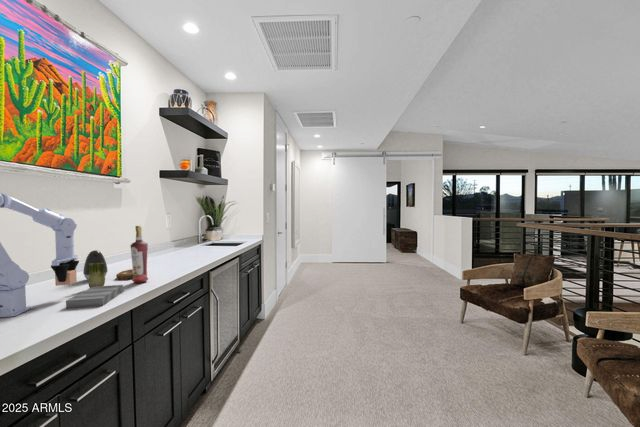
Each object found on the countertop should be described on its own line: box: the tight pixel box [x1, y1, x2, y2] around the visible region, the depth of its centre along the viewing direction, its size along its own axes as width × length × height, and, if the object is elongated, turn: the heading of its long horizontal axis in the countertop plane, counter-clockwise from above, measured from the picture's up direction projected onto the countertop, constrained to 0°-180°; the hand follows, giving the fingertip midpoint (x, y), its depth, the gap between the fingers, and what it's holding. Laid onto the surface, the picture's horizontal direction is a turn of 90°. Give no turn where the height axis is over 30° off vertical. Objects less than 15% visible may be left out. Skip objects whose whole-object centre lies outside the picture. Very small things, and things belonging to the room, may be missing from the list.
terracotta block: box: [54, 269, 77, 287], centre depth 126 cm, size 5×5×5 cm
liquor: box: [130, 225, 149, 284], centre depth 151 cm, size 7×7×28 cm
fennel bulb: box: [87, 263, 106, 288], centre depth 140 cm, size 6×5×12 cm
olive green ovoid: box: [82, 249, 109, 280], centre depth 159 cm, size 10×10×15 cm
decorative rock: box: [115, 268, 133, 281], centre depth 164 cm, size 11×4×15 cm
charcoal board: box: [65, 284, 124, 310], centre depth 124 cm, size 20×12×3 cm, turn 14°
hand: (66, 280), depth 126 cm, fingers closed on terracotta block, 5 cm apart
